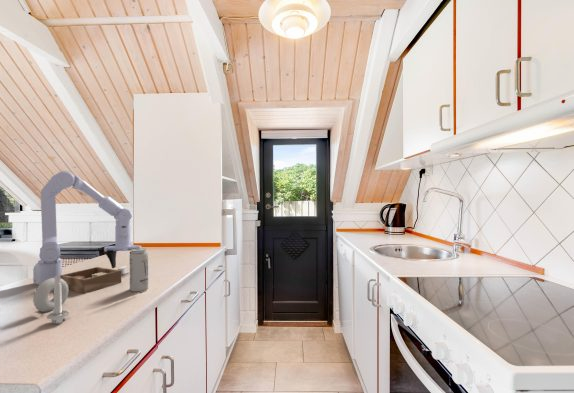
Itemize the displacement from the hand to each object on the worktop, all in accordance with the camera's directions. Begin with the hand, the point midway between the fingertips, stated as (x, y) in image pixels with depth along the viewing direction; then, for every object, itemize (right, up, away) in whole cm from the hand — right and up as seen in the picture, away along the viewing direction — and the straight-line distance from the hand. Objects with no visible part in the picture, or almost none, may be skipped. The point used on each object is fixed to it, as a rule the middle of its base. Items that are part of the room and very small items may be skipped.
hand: (123, 267), depth 133 cm
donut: (+1, -4, -42) cm, 42 cm away
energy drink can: (+18, -3, -23) cm, 30 cm away
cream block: (0, -2, -16) cm, 16 cm away
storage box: (-2, -3, -19) cm, 19 cm away
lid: (0, -4, 0) cm, 4 cm away
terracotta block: (-6, -2, -21) cm, 22 cm away
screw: (+9, -4, -50) cm, 51 cm away
